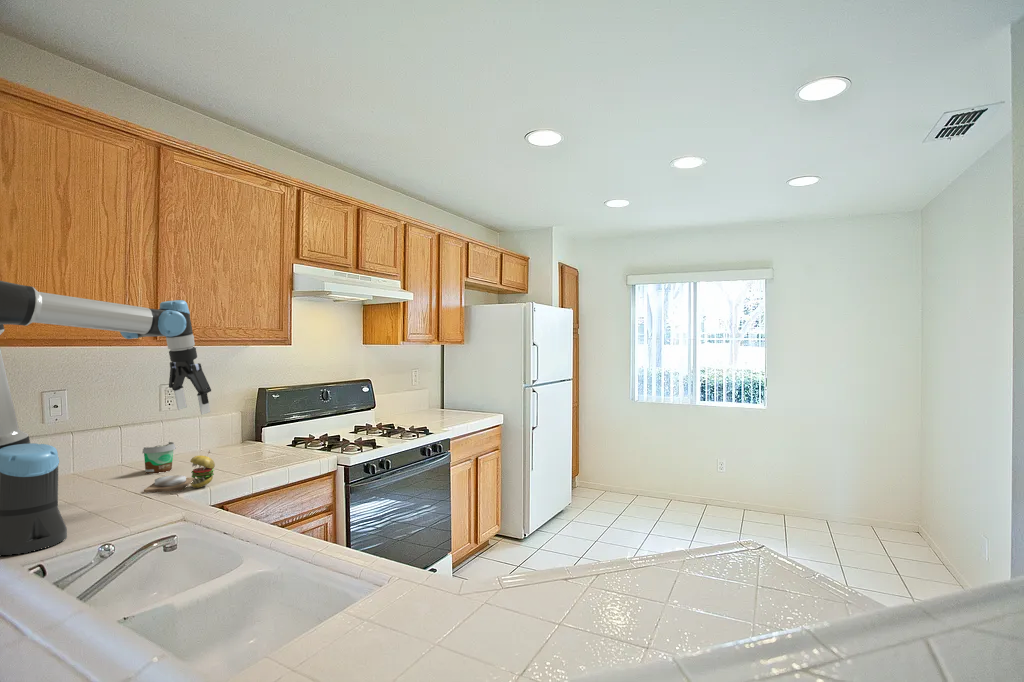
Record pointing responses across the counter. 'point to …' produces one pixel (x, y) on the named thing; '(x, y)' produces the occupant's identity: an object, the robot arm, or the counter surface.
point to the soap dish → (169, 483)
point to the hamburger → (202, 471)
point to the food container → (158, 458)
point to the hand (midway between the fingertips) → (193, 410)
